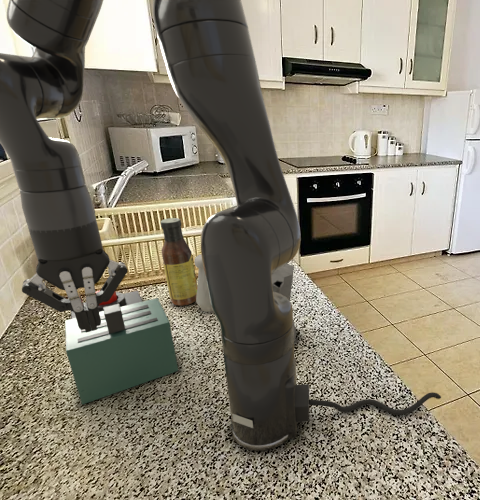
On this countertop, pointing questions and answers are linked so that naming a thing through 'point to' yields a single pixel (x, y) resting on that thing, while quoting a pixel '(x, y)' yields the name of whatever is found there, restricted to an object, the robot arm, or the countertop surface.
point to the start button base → (119, 301)
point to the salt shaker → (202, 287)
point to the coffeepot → (284, 283)
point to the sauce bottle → (178, 264)
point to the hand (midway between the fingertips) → (91, 328)
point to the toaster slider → (114, 318)
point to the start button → (110, 299)
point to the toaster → (121, 351)
